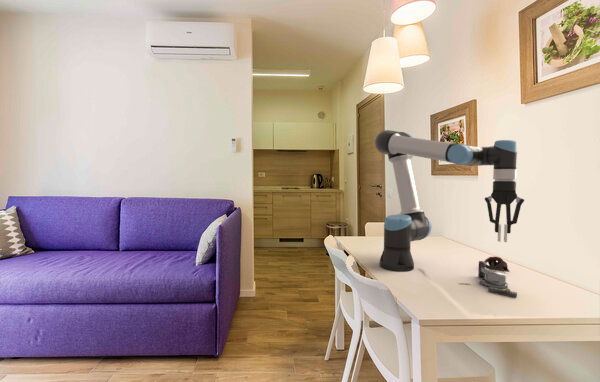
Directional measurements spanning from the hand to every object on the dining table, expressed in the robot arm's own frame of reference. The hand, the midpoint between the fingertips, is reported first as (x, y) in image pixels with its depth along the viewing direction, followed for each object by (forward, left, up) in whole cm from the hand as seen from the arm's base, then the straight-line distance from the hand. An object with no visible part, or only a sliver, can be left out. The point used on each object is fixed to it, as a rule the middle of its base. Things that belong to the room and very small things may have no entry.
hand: (502, 241), depth 125 cm
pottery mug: (-5, +14, -17) cm, 22 cm away
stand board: (-1, -10, -16) cm, 20 cm away
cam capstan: (-2, -7, -15) cm, 17 cm away
